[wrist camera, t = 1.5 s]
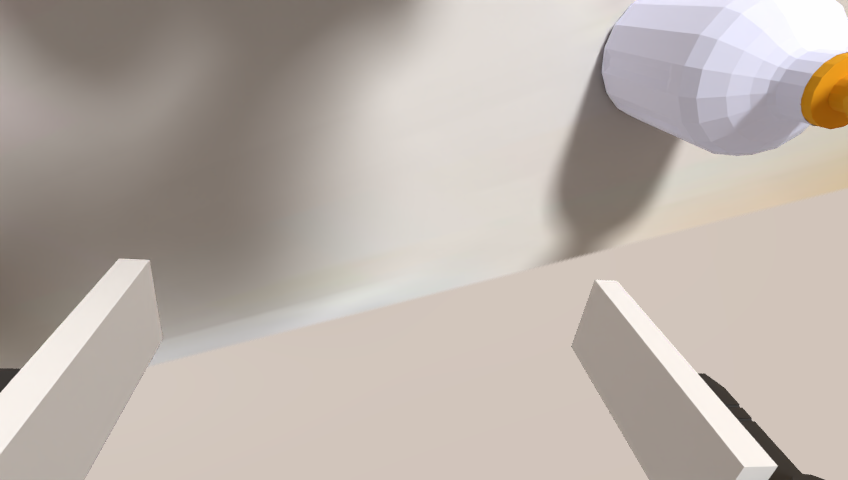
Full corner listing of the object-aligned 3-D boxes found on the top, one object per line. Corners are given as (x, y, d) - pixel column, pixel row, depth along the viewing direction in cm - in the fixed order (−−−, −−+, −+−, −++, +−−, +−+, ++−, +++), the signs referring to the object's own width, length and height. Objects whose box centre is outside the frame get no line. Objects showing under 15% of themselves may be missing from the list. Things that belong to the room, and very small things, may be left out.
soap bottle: (638, 141, 37) (1032, 348, 15) (575, 52, 33) (978, 160, 12) (739, 57, 35) (1363, 160, 13) (683, -49, 31) (1430, -148, 9)
